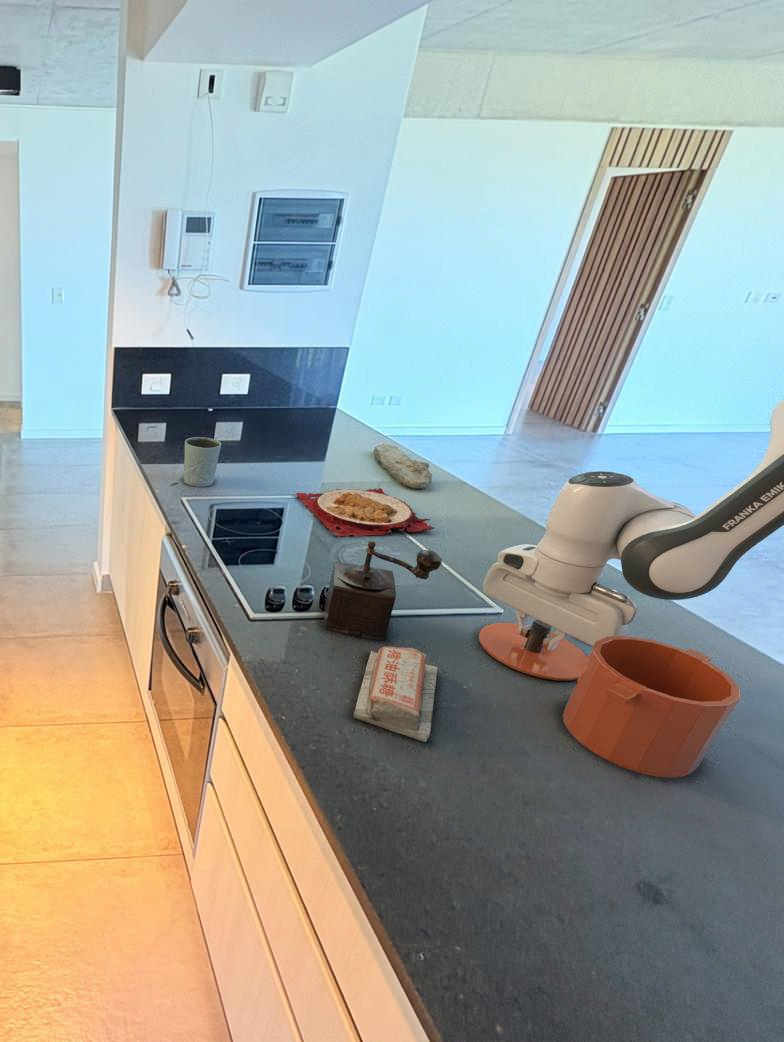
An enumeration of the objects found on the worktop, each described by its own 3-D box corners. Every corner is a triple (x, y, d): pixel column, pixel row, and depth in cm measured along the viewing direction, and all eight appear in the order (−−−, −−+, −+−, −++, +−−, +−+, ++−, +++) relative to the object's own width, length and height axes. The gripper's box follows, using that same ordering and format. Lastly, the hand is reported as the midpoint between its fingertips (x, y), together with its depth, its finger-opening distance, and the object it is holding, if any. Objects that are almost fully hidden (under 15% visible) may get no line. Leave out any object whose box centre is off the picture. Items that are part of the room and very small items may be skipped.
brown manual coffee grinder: (322, 632, 111) (341, 543, 103) (324, 601, 121) (341, 518, 112) (418, 651, 106) (446, 559, 98) (412, 617, 115) (437, 531, 107)
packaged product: (436, 719, 84) (358, 694, 89) (427, 745, 87) (352, 720, 91) (443, 650, 98) (375, 632, 103) (435, 674, 100) (369, 655, 105)
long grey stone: (396, 456, 201) (364, 456, 202) (399, 440, 199) (366, 441, 200) (440, 490, 169) (401, 491, 171) (444, 472, 167) (404, 472, 169)
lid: (609, 667, 101) (624, 637, 99) (550, 694, 96) (564, 663, 93) (514, 619, 114) (524, 591, 112) (457, 640, 109) (467, 611, 106)
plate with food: (380, 494, 169) (382, 483, 168) (433, 533, 146) (437, 519, 145) (294, 498, 169) (296, 486, 167) (334, 537, 146) (337, 523, 144)
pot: (728, 750, 85) (774, 679, 79) (646, 800, 78) (690, 726, 72) (608, 687, 97) (641, 621, 91) (528, 726, 90) (558, 657, 84)
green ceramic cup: (181, 474, 184) (184, 436, 179) (215, 476, 183) (219, 437, 178) (182, 487, 175) (185, 447, 170) (218, 488, 174) (222, 448, 169)
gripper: (653, 596, 90) (617, 671, 97) (513, 540, 107) (489, 607, 113) (629, 606, 88) (593, 682, 94) (489, 547, 105) (466, 615, 111)
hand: (535, 641), depth 104 cm, fingers closed on lid, 3 cm apart
